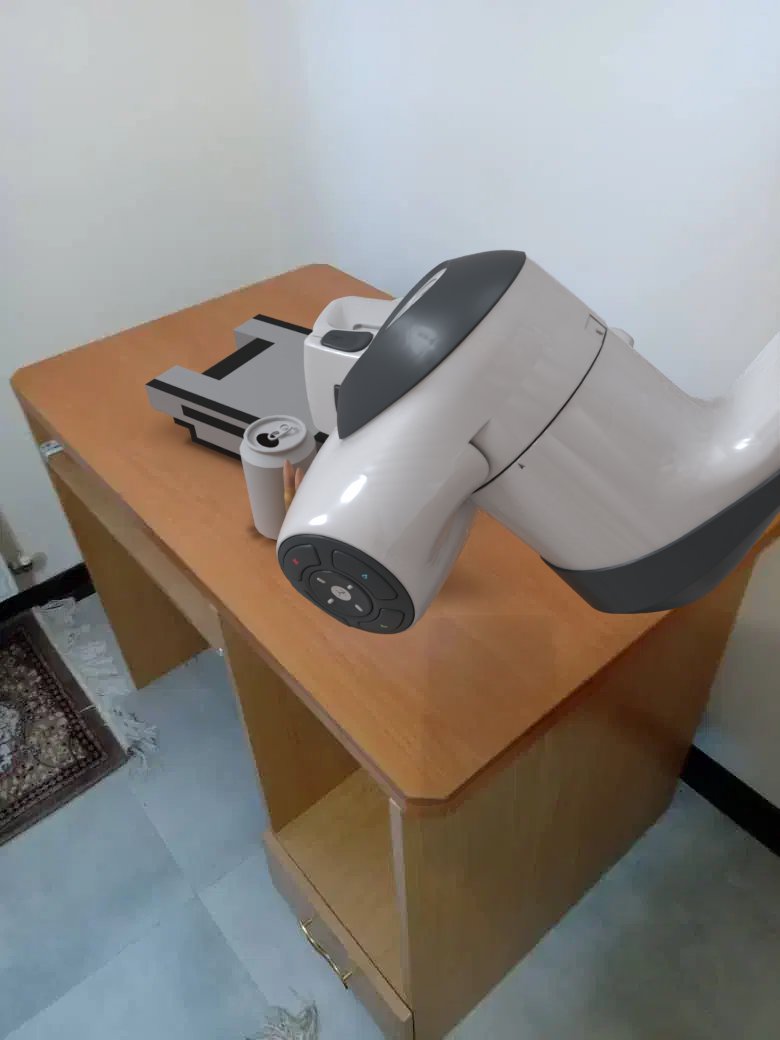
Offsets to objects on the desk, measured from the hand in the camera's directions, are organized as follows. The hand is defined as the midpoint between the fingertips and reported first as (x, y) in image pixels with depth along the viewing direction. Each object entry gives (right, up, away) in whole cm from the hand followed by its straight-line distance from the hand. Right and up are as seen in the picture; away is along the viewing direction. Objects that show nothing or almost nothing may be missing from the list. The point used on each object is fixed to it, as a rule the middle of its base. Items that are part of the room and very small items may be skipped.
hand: (495, 302), depth 56 cm
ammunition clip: (-14, -21, +23) cm, 34 cm away
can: (-18, -16, +29) cm, 38 cm away
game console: (-17, -4, +42) cm, 46 cm away
